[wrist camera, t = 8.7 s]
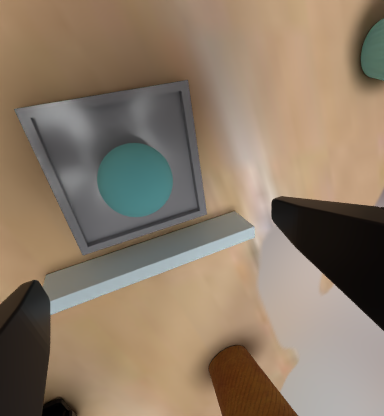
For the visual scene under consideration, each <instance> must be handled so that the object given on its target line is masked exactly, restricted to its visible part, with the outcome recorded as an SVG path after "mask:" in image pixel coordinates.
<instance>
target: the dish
mask: <svg viewBox="0 0 384 416" xmlns="http://www.w3.org/2000/svg"><path fill="white" fill-rule="evenodd" d="M14 110H15V112H16V115H17V117H18V119H19V121H20V123H21V125H22V127H23V129H24V132H25V134H26V136H27V138H28V140H29V142H30V144H31V146H32V149H33V151H34V153H35V155H36V157H37V159H38V161H39V163H40V166H41V168H42V170H43V172H44V174H45V176H46V178H47V180H48V183H49V185H50V187H51V189H52V191H53V193H54V195H55V197H56V200H57V202H58V204H59V206H60V208H61V210H62V212H63V214H64V216H65V219H66V221H67V223H68V225H69V227H70V229H71V231H72V233H73V236H74V238H75V240H76V242H77V244H78V246H79V248H80V250H81V253H82V255H86V254H89V253H92V252H95V251H98V250H101V249H104V248H107V247H110V246H113V245H116V244H119V243H122V242H125V241H128V240H131V239H134V238H137V237H140V236H143V235H146V234H149V233H152V232H155V231H158V230H161V229H164V228H167V227H170V226H173V225H176V224H180V223H183V222H186V221H189V220H192V219H195V218H198V217H201V216H204V215H207V211H206V204H205V197H204V190H203V183H202V176H201V169H200V162H199V155H198V148H197V140H196V133H195V126H194V119H193V112H192V105H191V98H190V91H189V84H188V80H185V81H179V82H173V83H167V84H161V85H155V86H149V87H143V88H137V89H131V90H125V91H119V92H113V93H107V94H101V95H95V96H89V97H83V98H77V99H71V100H65V101H59V102H53V103H47V104H41V105H35V106H29V107H23V108H17V109H14ZM127 143H141V144H145V145H148V146H150V147H152V148H154V149H156V150H157V151H158V152H160V153H161V154H162V155H163V156H164V158H165V159H166V160H167V162H168V164H169V166H170V168H171V171H172V176H173V186H172V191H171V194H170V196H169V198H168V200H167V201H166V203H165V204H164V205H163V206H162V207H161V208H160V209H159V210H157V211H156V212H154V213H152V214H150V215H147V216H143V217H129V216H125V215H122V214H120V213H118V212H116V211H114V210H113V209H111V208H110V207H109V206H108V205H107V204H106V203H105V201H104V200H103V198H102V197H101V194H100V192H99V189H98V185H97V174H98V169H99V166H100V164H101V162H102V160H103V158H104V157H105V156H106V155H107V154H108V153H109V152H110V151H111V150H113V149H114V148H116V147H118V146H120V145H123V144H127Z"/></svg>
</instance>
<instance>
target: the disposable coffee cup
mask: <svg viewBox="0 0 384 416" xmlns="http://www.w3.org/2000/svg"><path fill="white" fill-rule="evenodd" d="M209 373H210V376H211V379H212V382H213V386H214V389H215V393H216V396H217V399H218V403H219V406H220V409H221V413H222V416H298V415H297V414H296V412H295V411H294V410H293V409H292V408H291V406H290V405H289V404H288V402H287V401H286V400H285V399H284V397H283V396H282V395H281V393H280V392H279V391H278V390H277V388H276V387H275V386H274V384H273V383H272V382H271V381H270V379H269V378H268V377H267V375H266V374H265V373H264V372H263V370H262V369H261V368H260V367H259V365H258V364H257V363H256V361H255V360H254V359H253V358H252V356H251V355H250V354H249V352H248V351H247V350H246V349H245V347H243V346H240V345H236V346H231V347H229V348H227V349H225V350H223V351H222V352H220V353H219V354H218V355H217V356H216V357H215V358H214V359H213V360H212V362H211V363H210V366H209Z"/></svg>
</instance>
